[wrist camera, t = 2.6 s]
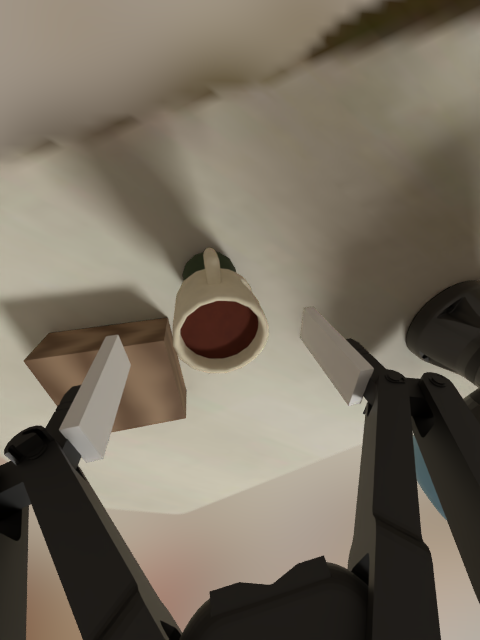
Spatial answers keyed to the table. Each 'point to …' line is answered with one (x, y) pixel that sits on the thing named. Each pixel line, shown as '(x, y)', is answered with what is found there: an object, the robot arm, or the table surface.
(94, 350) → the walnut stand
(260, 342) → the character mug
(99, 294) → the table surface
